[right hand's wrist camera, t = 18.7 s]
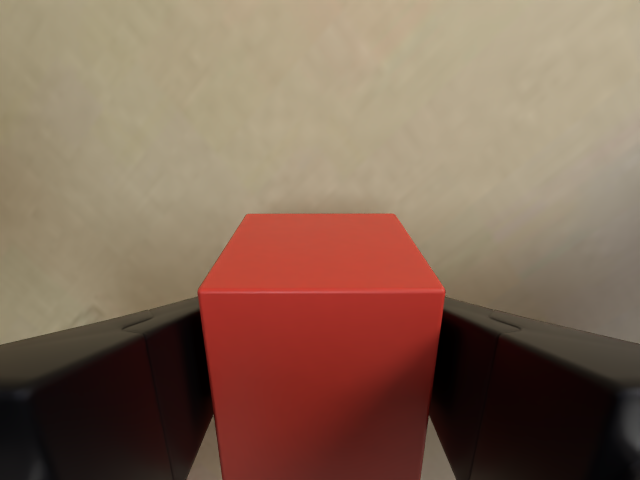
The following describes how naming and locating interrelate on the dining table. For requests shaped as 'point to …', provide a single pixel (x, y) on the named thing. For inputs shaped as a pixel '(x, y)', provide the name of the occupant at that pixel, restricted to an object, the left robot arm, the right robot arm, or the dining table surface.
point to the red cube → (321, 348)
